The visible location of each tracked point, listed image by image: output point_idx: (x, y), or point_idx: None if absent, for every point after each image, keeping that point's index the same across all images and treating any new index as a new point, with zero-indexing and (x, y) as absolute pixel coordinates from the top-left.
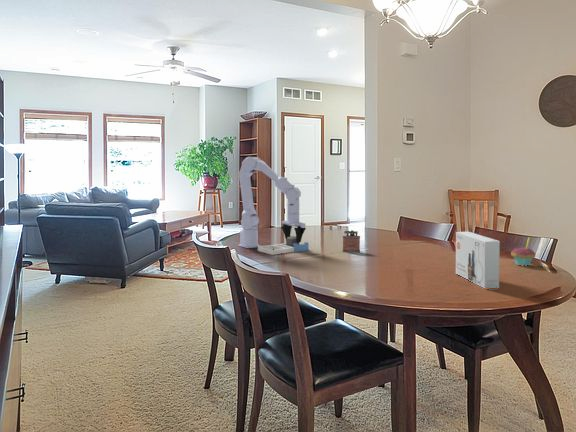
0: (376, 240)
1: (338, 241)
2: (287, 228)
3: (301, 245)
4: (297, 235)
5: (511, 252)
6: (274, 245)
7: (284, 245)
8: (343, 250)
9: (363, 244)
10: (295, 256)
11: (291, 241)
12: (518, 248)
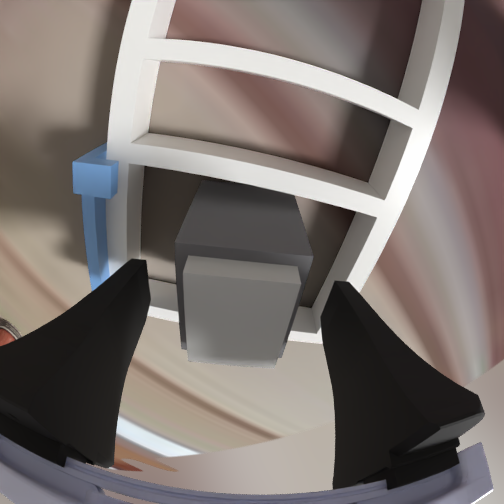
0: (155, 460)
1: (218, 446)
2: (370, 434)
3: (89, 239)
4: (73, 309)
5: None
6: (397, 103)
7: (296, 174)
8: (3, 326)
9: (118, 432)
10: (8, 28)
11: (188, 226)
12: None
